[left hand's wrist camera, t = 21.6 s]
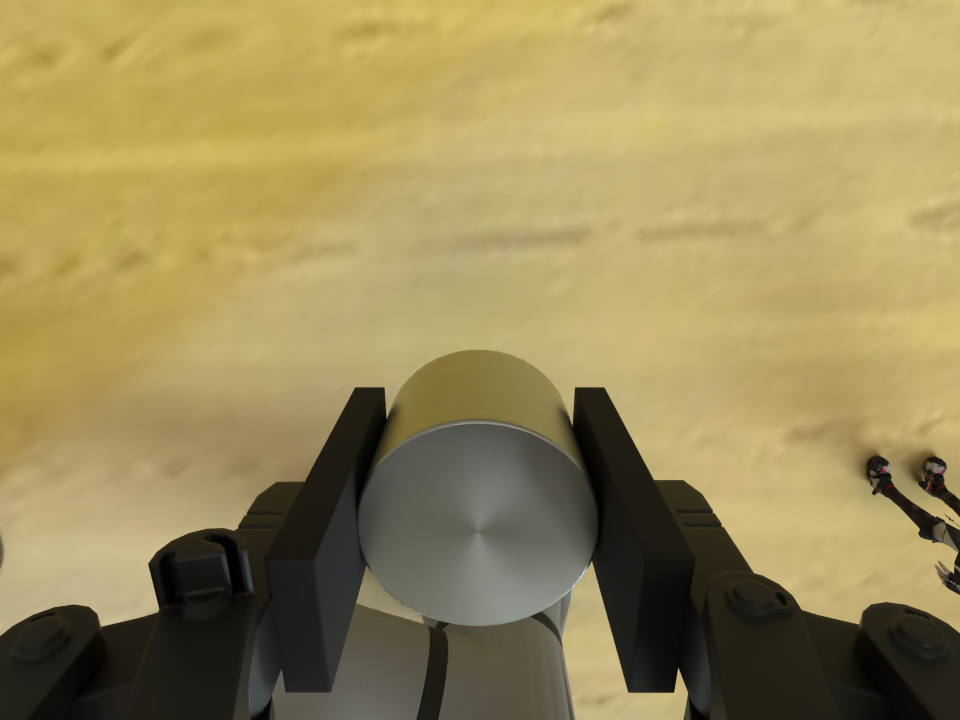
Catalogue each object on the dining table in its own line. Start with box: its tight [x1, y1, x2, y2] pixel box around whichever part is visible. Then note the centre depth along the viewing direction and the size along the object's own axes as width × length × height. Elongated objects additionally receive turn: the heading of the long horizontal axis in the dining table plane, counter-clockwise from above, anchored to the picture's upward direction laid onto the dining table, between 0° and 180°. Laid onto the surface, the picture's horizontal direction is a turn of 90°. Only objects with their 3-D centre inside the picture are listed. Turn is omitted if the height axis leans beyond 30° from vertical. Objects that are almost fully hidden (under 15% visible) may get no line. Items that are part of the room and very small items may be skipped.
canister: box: [357, 350, 601, 626], centre depth 13 cm, size 5×5×4 cm
